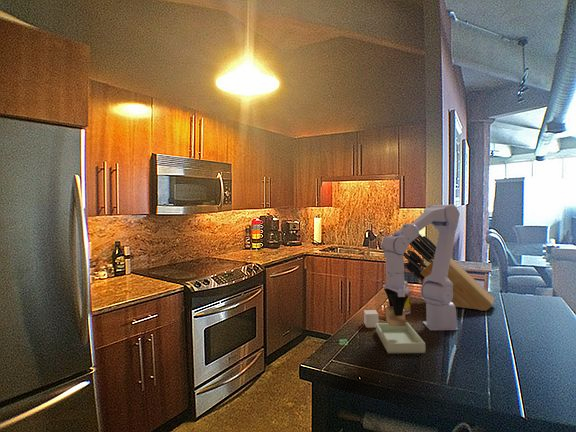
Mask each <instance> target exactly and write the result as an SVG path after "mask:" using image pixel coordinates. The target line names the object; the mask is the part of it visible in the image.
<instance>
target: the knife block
mask: <svg viewBox="0 0 576 432" xmlns="http://www.w3.org/2000/svg"><path fill="white" fill-rule="evenodd" d="M409 246H411V248H412V249H414V250H410V249H407V250H406V252H405V253H403V255H404V259H406V260H407V261H408V262H406V263H404V269H407V270H408V271H409V272H410V273H411V274H412V275H413V276H415V277H416V278H417V279H419V281H421V282H422V283H423V282H424V279H425V277H427V276H428V275H430V274H431V272H432V267H433V262H434V257H435V251H436V246H437V245H436V244H435V243H434V242H432V241H431V240H430V239H429V238H428V237H427V236H425V235H423V236H422V235H421V234H420V233H419V236H418V237H417V238H416V239H414V240H413V241H412V242H411V243H410V244H409ZM423 259H424V260H425V261H427V263H429V264H428V265H426V263H425V262H424V260H423ZM422 267H423V268H424V269H423V268H422ZM447 278H448V279H449V280H450V281H451V282H452V283H453V299H452V301H451V302H453V303H454V305H455V308H463V309H470V310H471V309H473V310H478V311H480V312H483V311H488V310H489V309H490V308H492V307H493V306H494V302H495V297H493V296H492V294H490V293H489V291H487V290H486V288H484V287H483V286H482V285H481V284H480V283H479V282H478V281H477V280H476V279H475V278H474V277H473V276H471V275H470V273H468V272H467V271H466V270H465V269H464V268H463V267H462V266H461V265H460V264H458V263H457V262H456V261H455V260H454V259H453V257H451V260H450V265H449V270H448V275H447ZM435 284H440V285H442V284H441V283H435ZM423 302H424V304H426V301H424V300H423Z"/></svg>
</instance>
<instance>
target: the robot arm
mask: <svg viewBox="0 0 576 432" xmlns="http://www.w3.org/2000/svg"><path fill="white" fill-rule="evenodd" d="M460 215H461V214H460V211H459V209H458V207H457V206H456V204H430V205H428V206H427V207H425V208H424V211H423V212H422V214H420V215H419V216H418V217H417V218H416V219H414V221H412V223H403V224H402V226H401V227H400V228H399V229H398V230H397V231H394V232H393V233H392V235H387V236H385V237H384V238H383V239H382V242H381V244H380V248H381V250H382V251H383V256H384V258H385V281H386V282H385V284H382V288H383V290H384V292H385V294H386V298H387V300H388V305H389V306H393V308H394V313H395V316H402V314H403V309H404V305H405V302H406V300H407V298H408V295H407V294H405V291H404V290H405V285H404V281H405V267H404V264H405V261H404V259H405V257H404V255H403V253H405V252H406V253H407V250H408V247H409V246H410V243H411V242H412V241H413V240H414V239H416V238H417V237H418V236H419V234H420V231H422V230H423V229H424V228H426V227H427V226H429V225H430V224H431V226H433V228H435V229H436V230H437V231H438V237H437V242H436V245H435V246H436V251H435V255H434V256H435V257H434V260H433V261H434V262H433V267H432V272H431V274H430V275H428V276H427V277H425V279H424V282H423V281H422V284H421V286H420V295H421V297H422V298H423V302H424V301H426V303H425V309H426V310H425V311H426V314H425V315H426V320H425V321H424V320H423V321H422V324H424V326H425V327H426V328H427V329H428V330H429V331H432V332H433V331H458V329H459V328H458V326H457V325H458V324H457V309H456V308H457V307H455V305H454V303H453V302H451V301H452V299H453V283H452V282H451V281H450V280H449V279H448V278H447V275H448V270H449V265H450V260H451V258H452V253H453V248H454V242H455V237H456V232H457V229H458V225H459V224H458V223H459V220H460ZM435 283H441V284H442V285H440V284H435Z"/></svg>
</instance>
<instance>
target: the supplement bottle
mask: <svg viewBox="0 0 576 432" xmlns="http://www.w3.org/2000/svg"><path fill="white" fill-rule="evenodd" d="M404 285H405V290H404V291H405V294H407V295H408V298H407V300H406V302H405V305H404V310H405V316H406V315H410V314H411V312H412V311H411V309H412V307H411V303H412V302H411V289H410V287H408V281H406V280H404Z"/></svg>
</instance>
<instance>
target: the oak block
mask: <svg viewBox="0 0 576 432" xmlns="http://www.w3.org/2000/svg"><path fill="white" fill-rule="evenodd" d="M385 316H386V318H385V319H386V320H385V322H386V323H388V324H389V326H406V323H407V322H406V315H405V310H404V309H403V314H402V316H395V313H394V308H393V306H390V305H389V306H388V305H387V306H385Z"/></svg>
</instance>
